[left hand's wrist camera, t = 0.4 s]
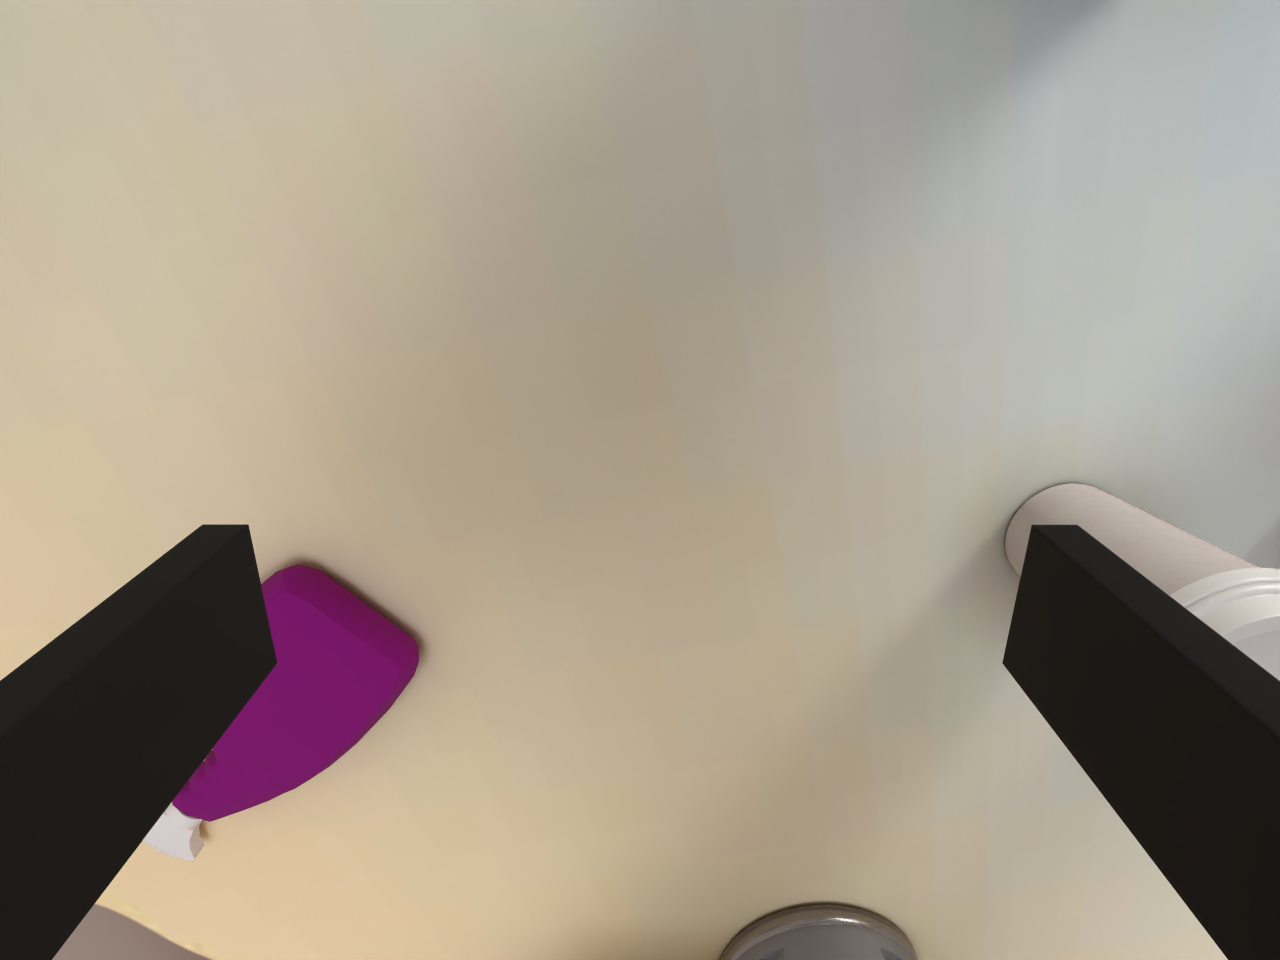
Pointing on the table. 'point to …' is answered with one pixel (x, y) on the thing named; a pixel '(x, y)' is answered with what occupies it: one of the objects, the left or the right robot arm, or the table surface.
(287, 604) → the spray bottle
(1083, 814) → the table surface
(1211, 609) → the coffee cup
